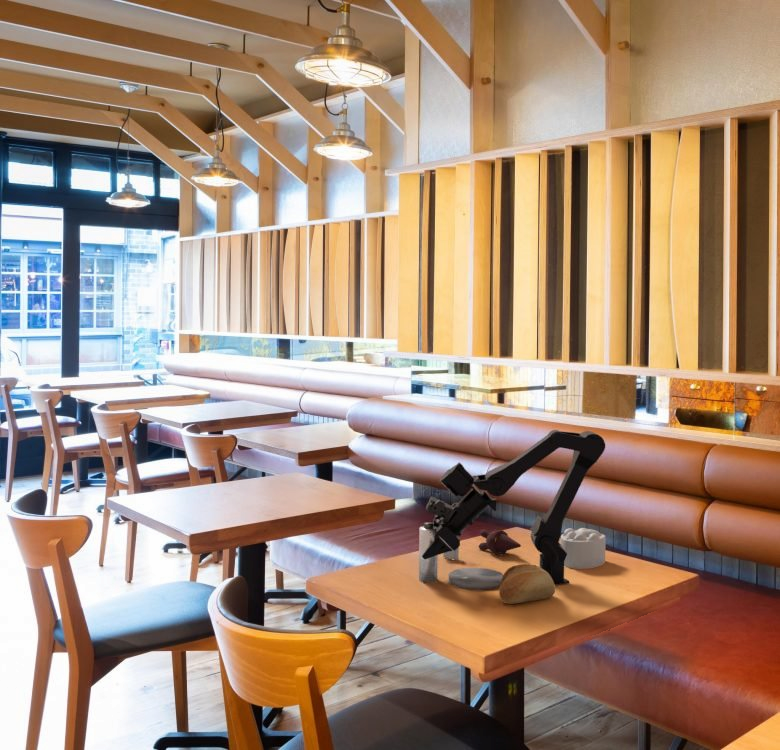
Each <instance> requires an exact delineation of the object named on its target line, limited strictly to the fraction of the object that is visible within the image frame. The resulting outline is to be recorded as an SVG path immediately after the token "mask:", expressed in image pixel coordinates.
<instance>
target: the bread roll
mask: <svg viewBox="0 0 780 750" xmlns="http://www.w3.org/2000/svg"><path fill="white" fill-rule="evenodd" d="M498 588H499V589H498V593H499V598H500V599H501V601H502V602H503V603H505V604H510V605H513V604H519V603H520V604H521V603H525V602H532V601H537V600H546V599H550V598H552V597H553V596H554V594H555V592H556V585H554V582H553V580H552V578H551V576H550V575H549V573H548V572H546V571H545V570H543V569H542V568H540V566H537V565H536V564H529V563H521V564H516V565H513V566H510V567H508V568H507V569H506V571H504V573H503V577H502V579H501V583H500V587H498Z"/></svg>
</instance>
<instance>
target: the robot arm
mask: <svg viewBox="0 0 780 750" xmlns="http://www.w3.org/2000/svg"><path fill="white" fill-rule="evenodd" d="M560 448H561V449H566V450H570V451H571V450H572V451H573V453H572V460H571V464H570V465H569V468H568V470H567V471H566V473H565V475H564V477H563V480H562V482H561V483H560V486H559V488H558V490H557V493H556V494H555V496H554V498H553V500H552V503H551V505H550V506H549V509H548V511H547V512H546V513H545V514H544V515H543V516H542V517H541V516H539V515H537V516H536V518H535V521H534V524H533V525H532V526H531V527H530V528H529V530H530V532H531V533H530V540H531V542H532V544H533V545H534V547H535V549H536V550H537V551H538V552H540V554H539V567H540V568H542V569H543V570H545V571H546V572H548V573H549V575H550V576H551V578H552V580H553V582H554V585H555V586H556V585H563V584H569V583H570V580H568V579H566V578H565V567H564V561H565V558H566V556H567V553H566V551H565V550H564V548H563V547H562V546H561V542H560V540H561V535H562V530H563V525H564V524H563V523H564V520H565V518H566V517H567V514H568V512H569V510H570V507H571V505H572V504H573V502H574V500H575V498H576V496H577V493H578V491H579V490H580V487H581V486H582V483H583V481H584V479H585V477H586V475H587V472H588V471H589V470H590V469H591V468H592V467H593V466H594V465H595V464H596V463H597V462H598V460H599V459H600V457H602V455H603V453H604V452H605V450H606V442H605V440H604V438H603V437H602V436H600V435H599V434H597V433H596V432H594V431H591V430H585V431H582V432H580V433H579V432H571V431H561V430H558V429H554V430H553V429H552V430H551V431H549V432H548V434H546V436H544V437H543V438H541V439H540V440H538V441H537V442H536V443H534V444H533V445H531V446H530V447H529V448H528V449H526V450H525V451H523V452H522V453H520V454H519V455H518V456H516V457H515V458H514V459H512V460H510V461H508V462H506V463H504V464H500V465H499V466H497V467H495V468H492V469H490V470H488V471H487V472H486V473H485V474H477V475H472V474H471V473H469V471H468V470H467V469H466V468H465V467H464V465H463V464H462V463H461V462H458V463H457V464H455V465H453V466H452V467H451V468H450V469H447V471H445V472H444V473H443V474H442V475H441V477H440V478H439V482H440V483H441V484H442V485H443V486H444V487H445V489H447V490H448V491H449V493H451V494H452V496H454V497H455V498H457V497H460V498H462V497H463V498H462V499H461V500H460V501H458V502H454V503H452V505H450V504H448V503H447V502H445V501H442V500H441V499H438V498H437V497H435V496H430V498H429V500H428V502H427V503H426V507H425V511H426V512H428V513H429V514H434V518H433V520H432V521H433V522H432V523H434V527H437V529H436V531H435V538H434V540H433V542H432V543H431V544H430V546H429V547H428V548H427V550H426V551H425V552H424V554H423V555H422V557H423V558H424V559H428V558H431V557H434V556H436V555H438V556H439V555H441V554H443V553H446V552H449V551H453V550H454V551H455V550H456V549H457V548H458V547H460V546H461V539H460V537H461V536H462V532H463V531H464V530H465V529H466V528H468V527H469V526H470V527H472V525H473V524H474V521H475V520H476V519H477V518H479V516H480V515H481V514H482V513H483V512H484V511H486V509H487V508H490V509H492V510H493V511H494V512H497V504H498V499H497V498H493V497H502V496H504V495H505V494H506V493H507V492H509V490H510V489H511V488H513V486H515V484H516V483H517V481H518V480H519V478H520V477H521V476H522V475H524V474H525V473H526V472H528V471H529V470H530V469H532V468H533V467H534V466H535V465H537V464H539V463H540V462H542V461H543V460H544V459H545V458H547V457H548V456H550V455H551V454H553V452H555V451H557V450H558V449H560ZM480 490H481V491H480ZM490 495H491V496H493V497H491V496H490Z"/></svg>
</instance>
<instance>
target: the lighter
mask: <svg viewBox="0 0 780 750" xmlns="http://www.w3.org/2000/svg"><path fill="white" fill-rule="evenodd" d="M459 547H460V546H459ZM459 547H458V548H457V549H456V550H455V551H454V550H453V551H449V552H446V553H442V554H443V556H442V557H445V558H444V559H446V558H449V559H448V560H450V559H454V560H456V561H458V560H459V550H460V548H459ZM457 559H458V560H457ZM454 560H453V561H454Z"/></svg>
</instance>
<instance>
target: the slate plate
mask: <svg viewBox="0 0 780 750" xmlns="http://www.w3.org/2000/svg"><path fill="white" fill-rule="evenodd" d="M503 575H504V573H502V572H500V571H497V570H494V569H489V568H484V567H483V568H482V567H463V568H458V569H454V570H452V571H450V572H449V573H448V582H449V584H451V585H452V584H453V586H454V585H455V587H458V588H461V589H464V590H465V589H467V590H474V591H475V590H476V591H477V590H478V591H480V590H481V591H484V590H485V591H486V590H493V589H498V588H499V587H500V583H501V579H502V577H503Z"/></svg>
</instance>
